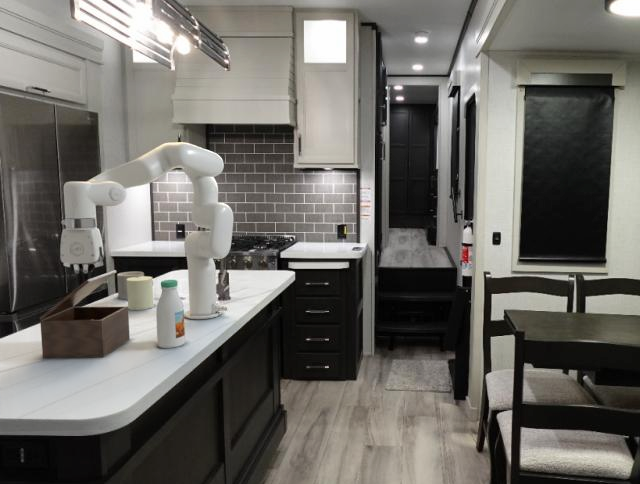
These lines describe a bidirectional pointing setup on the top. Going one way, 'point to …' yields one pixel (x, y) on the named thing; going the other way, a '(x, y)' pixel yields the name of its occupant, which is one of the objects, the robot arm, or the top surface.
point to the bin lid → (78, 294)
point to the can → (140, 293)
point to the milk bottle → (170, 316)
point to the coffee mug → (125, 282)
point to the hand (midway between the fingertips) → (84, 285)
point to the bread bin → (84, 332)
